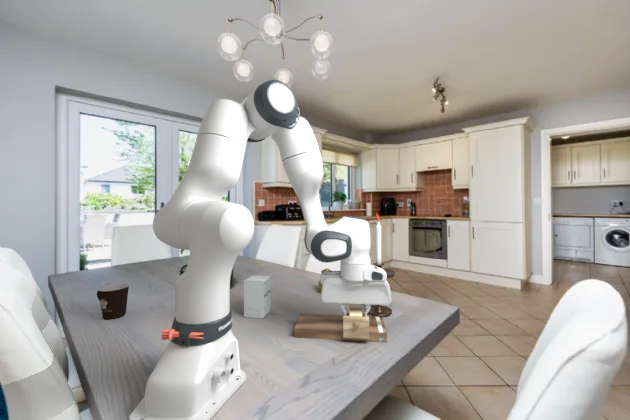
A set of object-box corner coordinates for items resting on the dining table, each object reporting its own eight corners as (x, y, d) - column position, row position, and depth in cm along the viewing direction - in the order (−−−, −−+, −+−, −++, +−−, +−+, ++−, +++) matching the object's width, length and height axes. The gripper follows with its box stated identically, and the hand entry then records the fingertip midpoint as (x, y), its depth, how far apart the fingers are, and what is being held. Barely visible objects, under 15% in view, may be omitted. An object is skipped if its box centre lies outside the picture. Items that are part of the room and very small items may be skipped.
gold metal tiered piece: (335, 294, 117) (335, 270, 117) (318, 294, 117) (318, 270, 117) (334, 289, 125) (334, 266, 125) (318, 289, 125) (318, 267, 125)
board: (386, 342, 76) (386, 332, 76) (294, 337, 80) (294, 328, 80) (382, 325, 87) (382, 316, 87) (300, 321, 91) (300, 313, 90)
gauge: (369, 340, 74) (369, 320, 74) (343, 339, 75) (343, 319, 75) (366, 322, 86) (366, 304, 86) (343, 321, 87) (343, 304, 86)
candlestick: (357, 312, 97) (356, 213, 97) (373, 304, 105) (373, 212, 105) (385, 321, 90) (384, 213, 89) (400, 311, 98) (400, 212, 97)
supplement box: (263, 319, 93) (263, 281, 92) (243, 317, 94) (242, 280, 94) (271, 310, 100) (271, 275, 100) (252, 309, 101) (252, 274, 101)
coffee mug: (132, 315, 96) (131, 287, 96) (101, 323, 90) (100, 293, 89) (123, 307, 104) (123, 280, 104) (94, 314, 98) (94, 285, 97)
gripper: (319, 273, 79) (319, 321, 80) (392, 274, 77) (392, 324, 77) (321, 268, 86) (321, 312, 86) (389, 269, 83) (389, 315, 83)
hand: (355, 318), depth 82 cm, fingers closed on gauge, 3 cm apart
